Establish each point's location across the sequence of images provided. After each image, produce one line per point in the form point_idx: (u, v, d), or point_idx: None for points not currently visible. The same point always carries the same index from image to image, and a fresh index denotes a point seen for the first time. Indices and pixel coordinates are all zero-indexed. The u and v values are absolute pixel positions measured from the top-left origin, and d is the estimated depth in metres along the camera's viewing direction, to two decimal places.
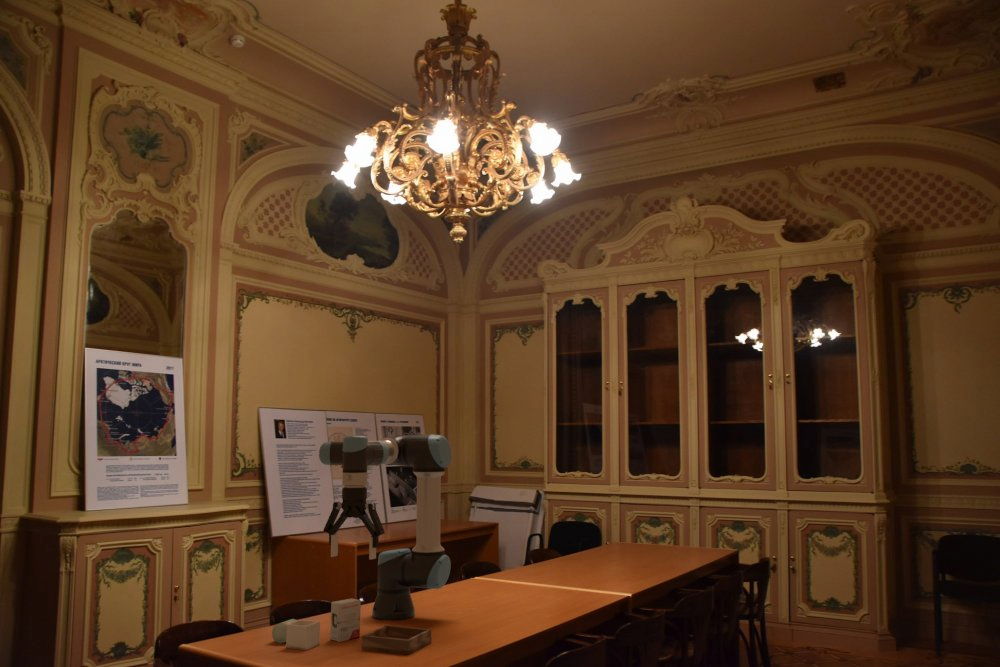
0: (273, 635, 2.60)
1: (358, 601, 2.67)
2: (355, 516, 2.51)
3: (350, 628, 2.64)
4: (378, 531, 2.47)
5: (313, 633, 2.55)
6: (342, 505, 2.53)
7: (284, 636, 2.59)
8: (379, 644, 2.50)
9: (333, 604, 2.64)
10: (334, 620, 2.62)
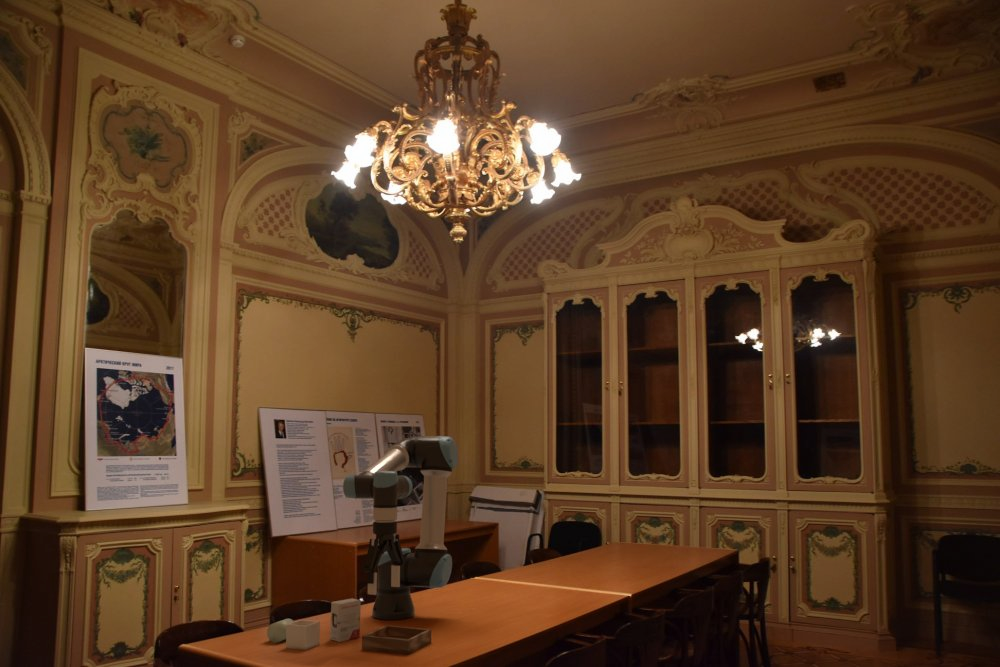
0: (270, 639, 2.61)
1: (358, 601, 2.67)
2: None
3: (350, 628, 2.64)
4: None
5: (313, 633, 2.55)
6: None
7: (279, 632, 2.60)
8: (379, 644, 2.50)
9: (333, 604, 2.64)
10: (334, 620, 2.62)
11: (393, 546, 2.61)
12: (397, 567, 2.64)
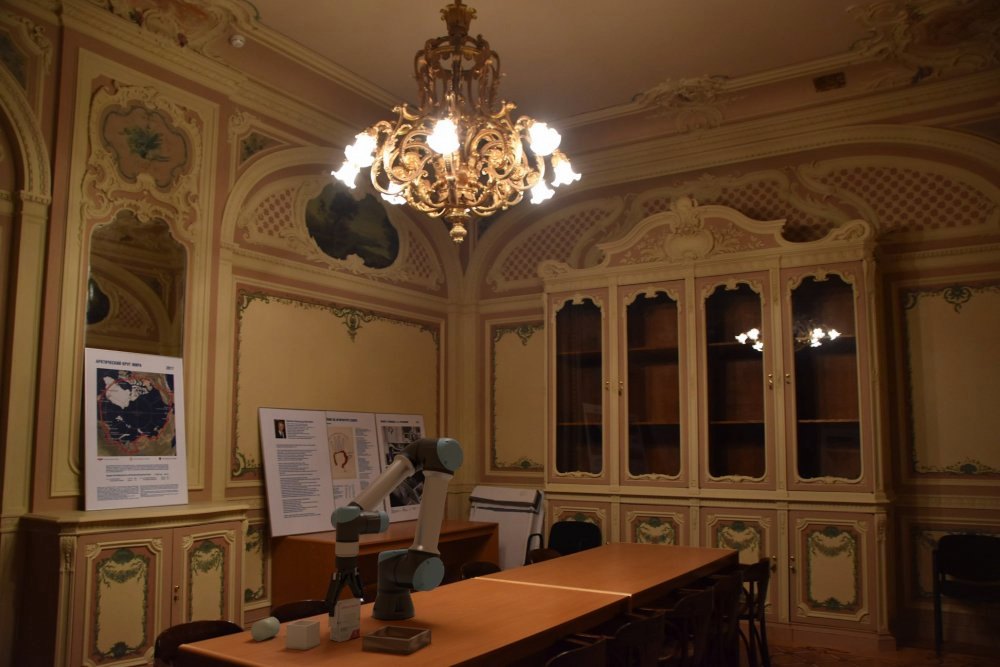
0: (265, 632, 2.62)
1: (358, 601, 2.67)
2: None
3: (350, 628, 2.64)
4: None
5: (313, 633, 2.55)
6: None
7: (255, 626, 2.63)
8: (379, 644, 2.50)
9: None
10: None
11: (354, 579, 2.69)
12: None
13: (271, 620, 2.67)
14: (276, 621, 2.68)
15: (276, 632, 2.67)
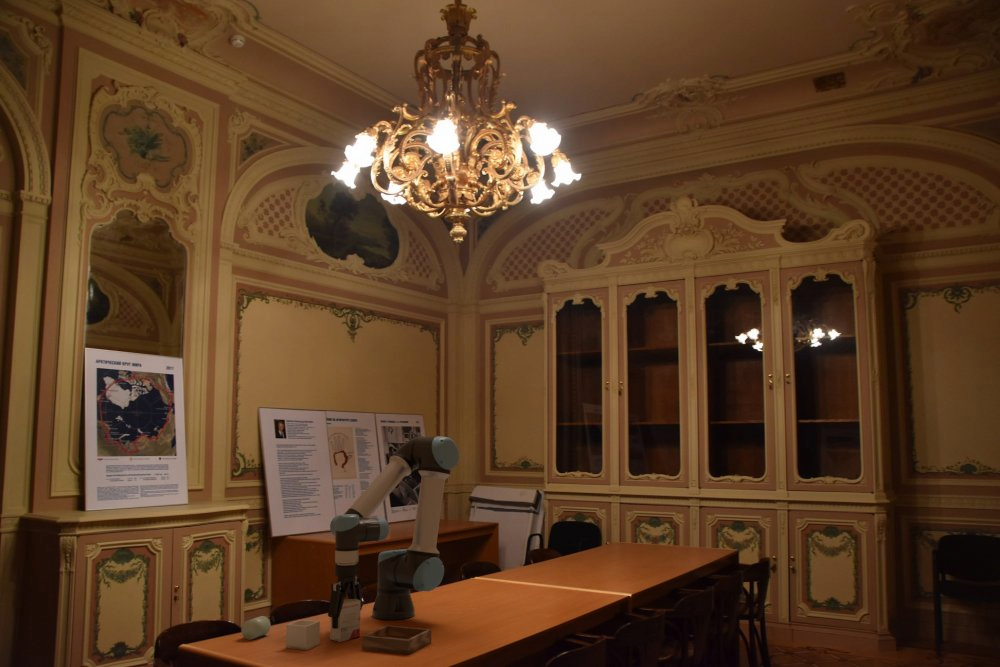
0: (251, 622, 2.64)
1: (358, 601, 2.67)
2: None
3: (350, 628, 2.64)
4: None
5: (313, 633, 2.55)
6: None
7: (244, 631, 2.65)
8: (379, 644, 2.50)
9: None
10: None
11: (354, 588, 2.68)
12: None
13: None
14: None
15: (266, 620, 2.69)
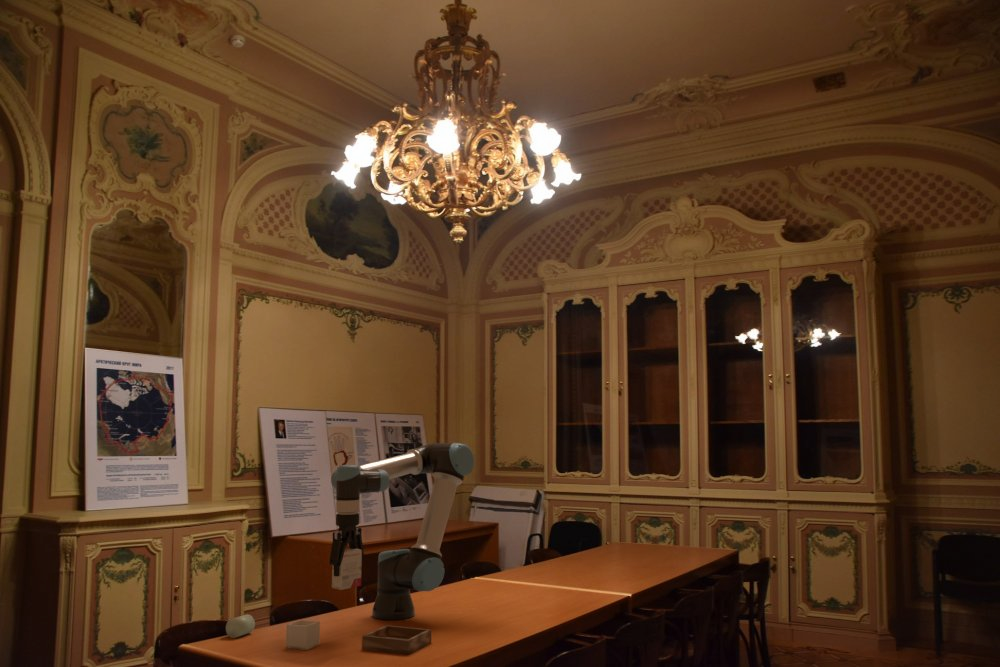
0: (226, 629, 2.67)
1: (359, 550, 2.69)
2: None
3: (351, 576, 2.66)
4: None
5: (313, 633, 2.55)
6: None
7: (236, 632, 2.66)
8: (379, 644, 2.50)
9: None
10: None
11: (355, 538, 2.70)
12: None
13: None
14: None
15: None
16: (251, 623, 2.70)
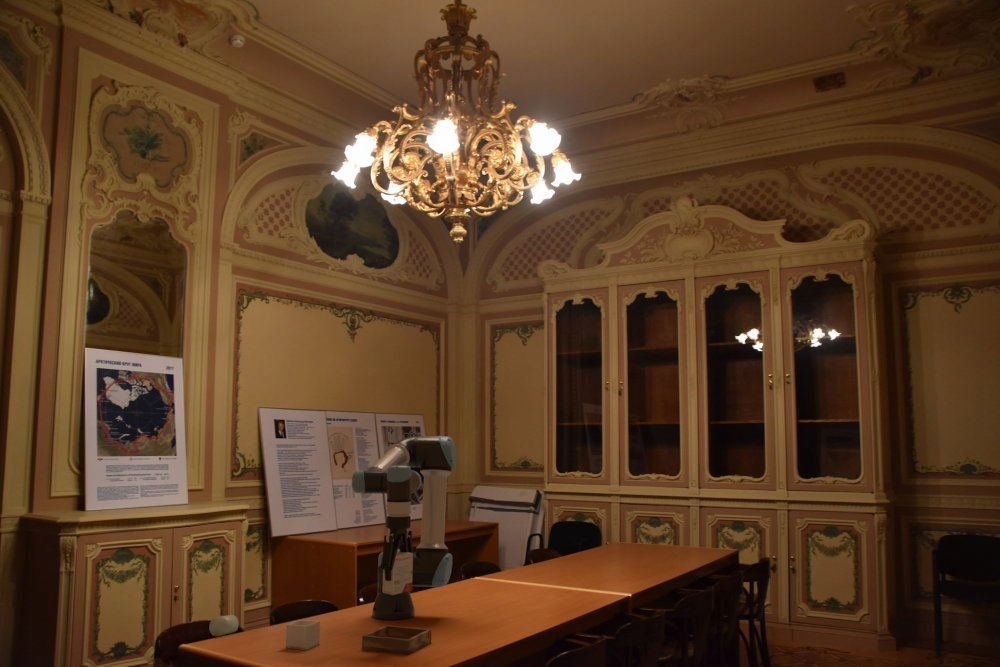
0: (221, 632, 2.68)
1: (410, 554, 2.59)
2: None
3: (403, 581, 2.57)
4: None
5: (313, 633, 2.55)
6: None
7: (216, 620, 2.70)
8: (379, 644, 2.50)
9: None
10: None
11: (406, 541, 2.61)
12: None
13: (232, 621, 2.72)
14: (236, 623, 2.74)
15: None
16: None
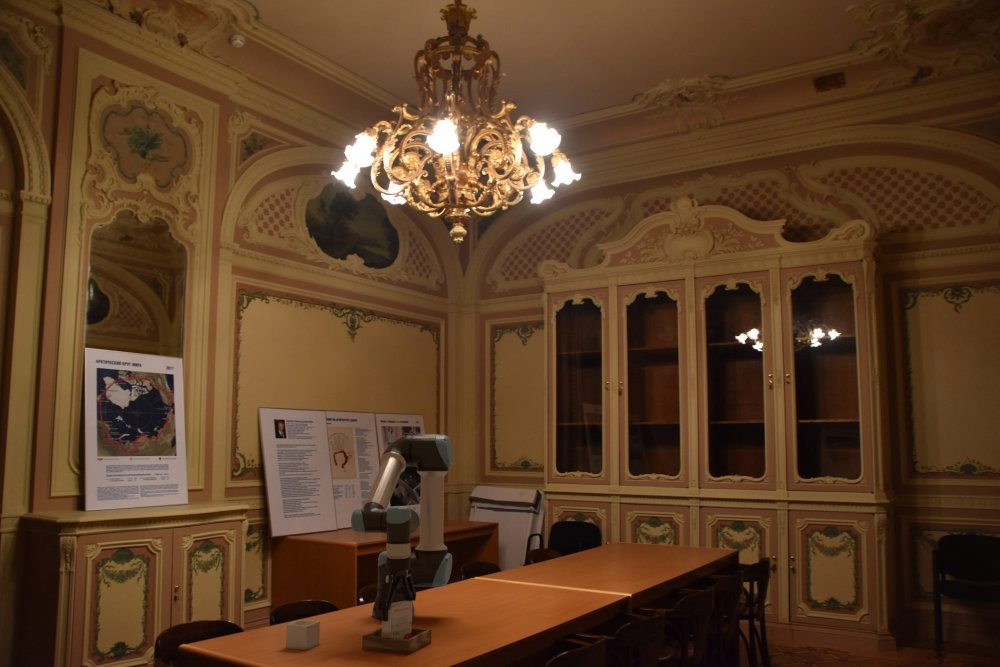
0: None
1: (410, 604, 2.57)
2: None
3: (402, 632, 2.54)
4: None
5: (313, 633, 2.55)
6: None
7: None
8: (379, 644, 2.50)
9: None
10: None
11: (406, 582, 2.60)
12: (410, 602, 2.63)
13: None
14: None
15: None
16: None
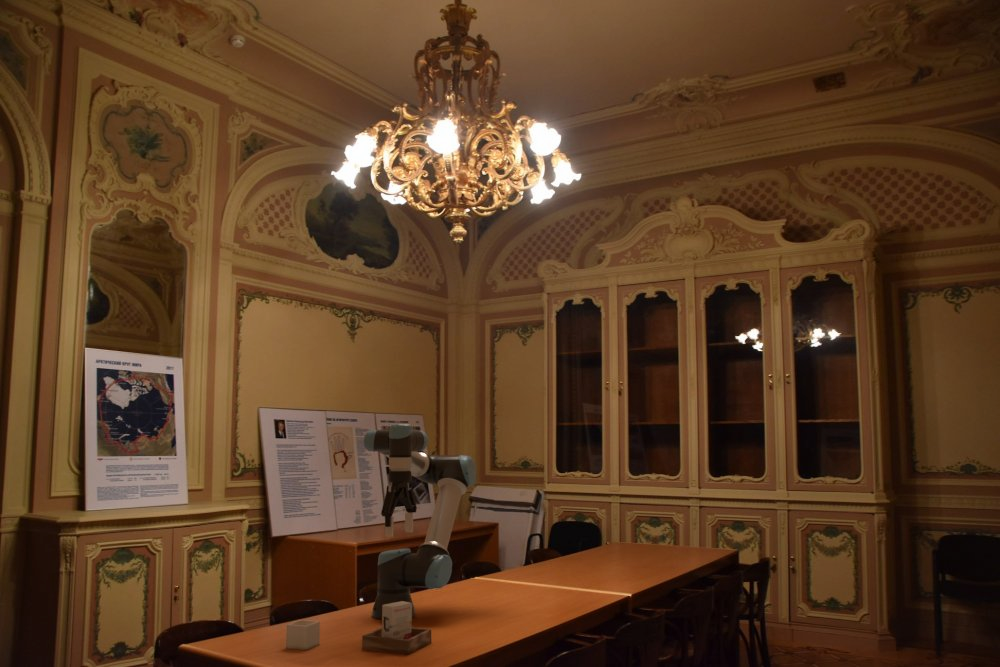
0: None
1: (410, 604, 2.57)
2: None
3: (402, 632, 2.54)
4: None
5: (313, 633, 2.55)
6: None
7: None
8: (379, 644, 2.50)
9: (384, 607, 2.54)
10: (386, 624, 2.53)
11: (407, 494, 2.79)
12: (410, 514, 2.82)
13: None
14: None
15: None
16: None
